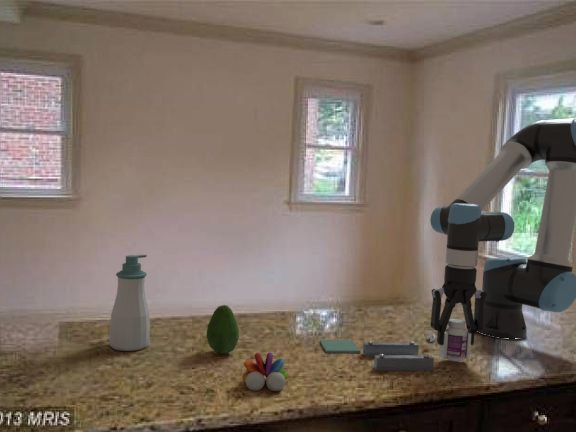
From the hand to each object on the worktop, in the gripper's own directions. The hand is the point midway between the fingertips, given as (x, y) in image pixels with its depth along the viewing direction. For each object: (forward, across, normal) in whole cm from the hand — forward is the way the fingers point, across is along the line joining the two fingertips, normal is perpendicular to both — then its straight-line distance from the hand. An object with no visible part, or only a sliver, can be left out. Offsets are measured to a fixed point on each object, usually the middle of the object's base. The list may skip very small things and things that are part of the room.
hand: (454, 357), depth 140 cm
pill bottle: (0, 0, 0) cm, 1 cm away
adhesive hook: (+2, -3, -18) cm, 18 cm away
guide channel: (+1, +15, 0) cm, 15 cm away
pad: (+1, +27, -11) cm, 29 cm away
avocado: (+1, +58, -6) cm, 58 cm away
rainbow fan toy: (+2, +49, +15) cm, 51 cm away
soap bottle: (+1, +81, -11) cm, 82 cm away
